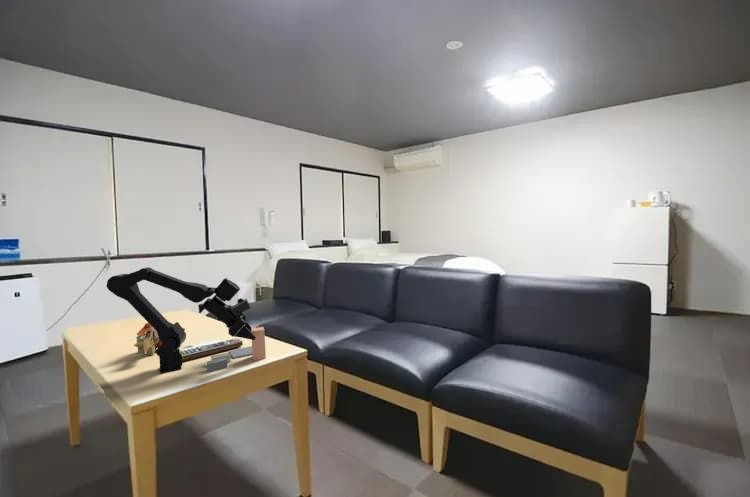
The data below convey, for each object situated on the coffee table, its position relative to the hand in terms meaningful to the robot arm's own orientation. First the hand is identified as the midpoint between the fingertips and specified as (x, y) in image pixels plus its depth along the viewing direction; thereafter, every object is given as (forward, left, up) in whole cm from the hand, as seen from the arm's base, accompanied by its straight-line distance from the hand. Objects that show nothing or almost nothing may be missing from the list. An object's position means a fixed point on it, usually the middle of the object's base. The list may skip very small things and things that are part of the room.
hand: (254, 335), depth 134 cm
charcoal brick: (-14, -2, -9) cm, 16 cm away
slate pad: (-2, +9, -9) cm, 12 cm away
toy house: (-34, +29, -9) cm, 45 cm away
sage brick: (-12, +3, -9) cm, 15 cm away
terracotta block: (+1, 0, -9) cm, 9 cm away
